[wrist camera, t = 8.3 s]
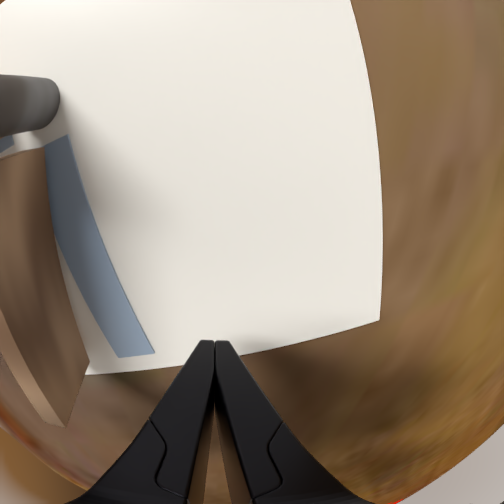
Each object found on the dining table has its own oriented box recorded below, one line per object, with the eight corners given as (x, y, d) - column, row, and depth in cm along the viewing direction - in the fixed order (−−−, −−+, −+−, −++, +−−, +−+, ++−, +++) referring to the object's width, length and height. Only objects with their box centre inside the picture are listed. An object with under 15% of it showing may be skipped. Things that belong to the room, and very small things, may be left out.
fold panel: (22, 150, 7) (-54, 178, 4) (44, 146, 7) (-33, 173, 4) (71, 358, 11) (44, 422, 8) (90, 361, 11) (65, 428, 8)
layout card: (25, 371, 12) (22, 377, 12) (-80, 90, 5) (-86, 91, 4) (375, 314, 12) (380, 321, 12) (312, -84, 5) (316, -90, 4)
